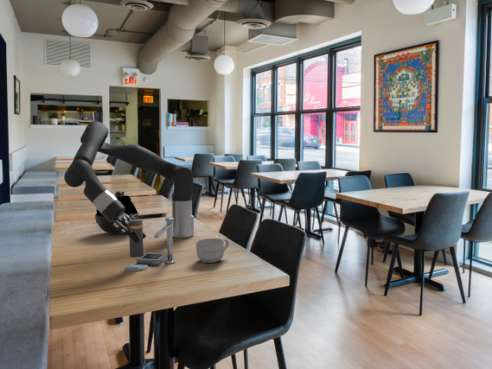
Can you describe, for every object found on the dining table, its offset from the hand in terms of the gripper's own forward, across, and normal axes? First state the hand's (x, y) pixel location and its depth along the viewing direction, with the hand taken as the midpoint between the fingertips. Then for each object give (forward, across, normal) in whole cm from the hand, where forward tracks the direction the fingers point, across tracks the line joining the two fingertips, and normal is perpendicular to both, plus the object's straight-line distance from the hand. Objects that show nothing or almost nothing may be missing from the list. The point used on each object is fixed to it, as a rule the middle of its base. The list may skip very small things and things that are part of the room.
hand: (141, 239), depth 156 cm
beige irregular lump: (-21, -74, -35) cm, 84 cm away
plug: (+3, 0, -6) cm, 6 cm away
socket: (+8, -7, -6) cm, 13 cm away
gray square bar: (+4, +1, +9) cm, 10 cm away
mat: (+6, +1, -8) cm, 11 cm away
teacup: (+24, -12, +10) cm, 29 cm away
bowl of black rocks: (-15, -47, -29) cm, 57 cm away
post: (+13, -8, -1) cm, 15 cm away
